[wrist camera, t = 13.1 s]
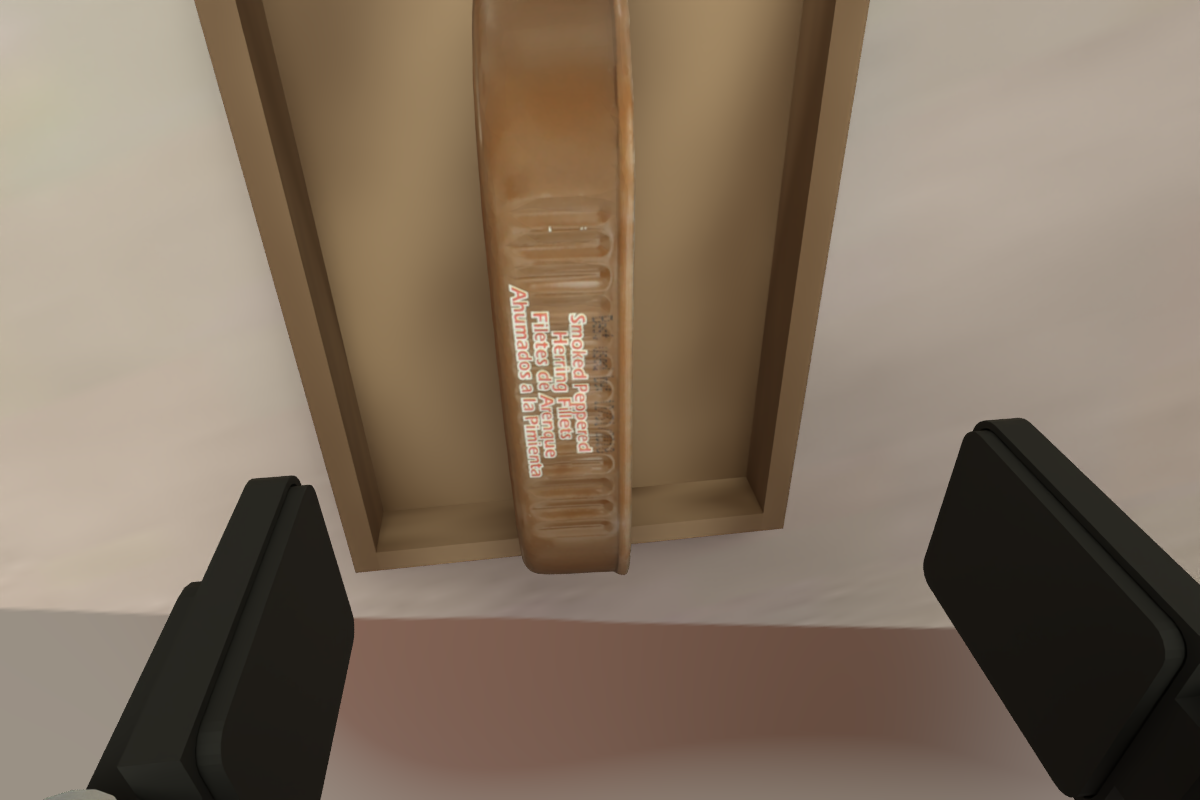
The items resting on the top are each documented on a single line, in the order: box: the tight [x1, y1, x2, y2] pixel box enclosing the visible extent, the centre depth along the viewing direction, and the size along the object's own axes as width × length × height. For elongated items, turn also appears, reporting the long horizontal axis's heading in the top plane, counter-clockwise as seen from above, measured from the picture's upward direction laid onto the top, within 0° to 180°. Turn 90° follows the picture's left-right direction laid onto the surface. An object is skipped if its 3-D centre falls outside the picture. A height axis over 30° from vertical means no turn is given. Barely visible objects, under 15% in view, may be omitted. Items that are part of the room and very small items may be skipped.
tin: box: [472, 0, 635, 575], centre depth 17 cm, size 15×3×8 cm, turn 1°
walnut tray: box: [194, 0, 870, 573], centre depth 20 cm, size 15×21×3 cm
